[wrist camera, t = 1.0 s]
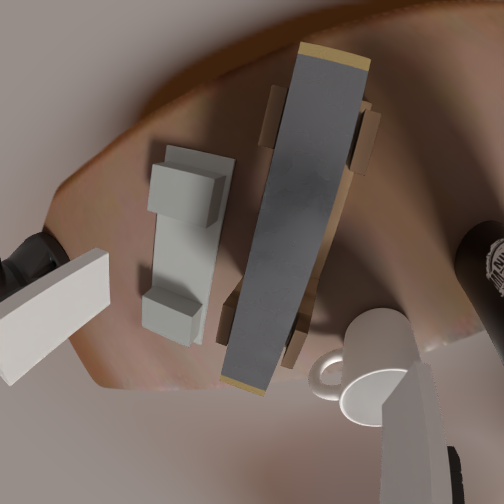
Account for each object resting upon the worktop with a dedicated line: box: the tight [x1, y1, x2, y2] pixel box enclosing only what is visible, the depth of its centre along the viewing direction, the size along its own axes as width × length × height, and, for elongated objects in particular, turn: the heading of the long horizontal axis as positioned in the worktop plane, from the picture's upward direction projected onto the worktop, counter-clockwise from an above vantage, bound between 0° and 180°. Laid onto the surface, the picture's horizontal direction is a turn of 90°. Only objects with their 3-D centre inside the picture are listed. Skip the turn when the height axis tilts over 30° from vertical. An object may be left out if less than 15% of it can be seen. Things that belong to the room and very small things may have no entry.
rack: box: [216, 85, 382, 369], centre depth 24 cm, size 7×24×10 cm, turn 167°
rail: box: [220, 42, 371, 396], centre depth 20 cm, size 26×4×4 cm, turn 167°
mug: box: [308, 308, 421, 426], centre depth 27 cm, size 12×8×10 cm
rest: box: [142, 145, 236, 348], centre depth 33 cm, size 8×24×3 cm, turn 167°
